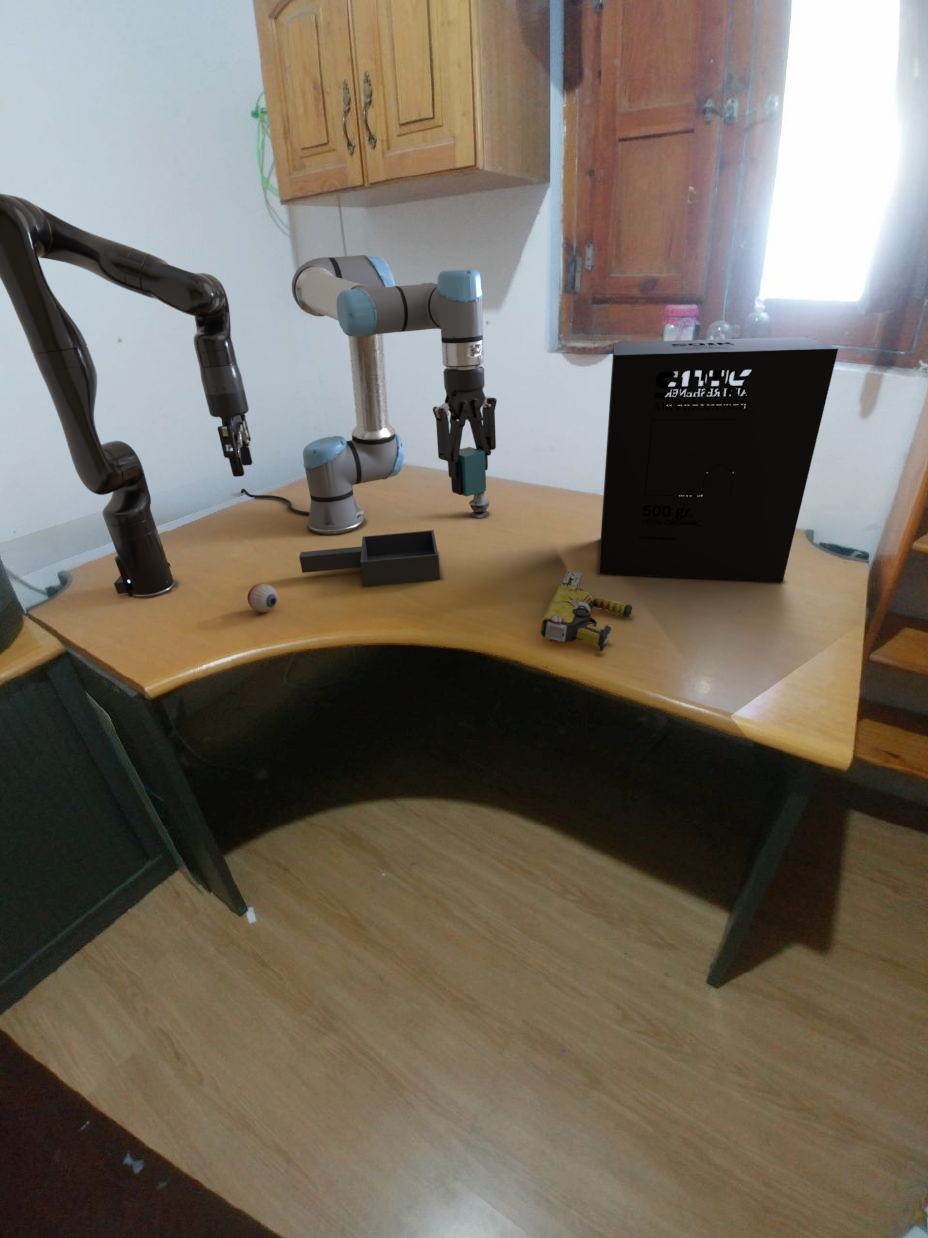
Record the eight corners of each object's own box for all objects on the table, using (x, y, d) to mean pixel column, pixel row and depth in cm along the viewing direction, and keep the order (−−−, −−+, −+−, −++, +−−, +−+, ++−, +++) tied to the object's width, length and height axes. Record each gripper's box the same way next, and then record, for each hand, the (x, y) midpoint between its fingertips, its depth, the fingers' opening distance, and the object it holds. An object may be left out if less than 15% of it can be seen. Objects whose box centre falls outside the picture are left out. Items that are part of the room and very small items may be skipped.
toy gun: (638, 581, 123) (566, 568, 127) (626, 636, 103) (540, 619, 107) (633, 601, 126) (563, 588, 130) (621, 659, 106) (537, 641, 110)
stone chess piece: (488, 518, 168) (487, 475, 162) (467, 517, 169) (465, 475, 163) (491, 510, 173) (490, 469, 167) (471, 510, 174) (469, 469, 168)
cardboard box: (762, 543, 144) (806, 336, 121) (782, 581, 126) (838, 348, 104) (600, 538, 151) (613, 342, 129) (599, 574, 134) (614, 354, 112)
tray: (435, 552, 149) (433, 529, 146) (440, 579, 136) (438, 554, 133) (308, 564, 147) (303, 541, 144) (300, 592, 134) (295, 568, 131)
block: (451, 490, 123) (449, 451, 119) (471, 485, 125) (469, 446, 121) (466, 496, 119) (464, 456, 115) (486, 490, 122) (485, 451, 118)
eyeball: (265, 620, 124) (259, 594, 121) (245, 613, 127) (238, 588, 124) (287, 607, 128) (281, 582, 125) (266, 601, 131) (260, 576, 128)
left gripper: (235, 393, 113) (255, 478, 121) (250, 382, 125) (267, 459, 134) (194, 396, 113) (217, 481, 121) (213, 384, 125) (232, 462, 133)
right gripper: (434, 374, 103) (443, 505, 115) (514, 361, 112) (515, 484, 124) (411, 371, 109) (422, 496, 120) (489, 359, 117) (492, 476, 129)
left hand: (243, 470), depth 127 cm, fingers open, 8 cm apart
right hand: (469, 489), depth 122 cm, fingers closed on block, 5 cm apart
